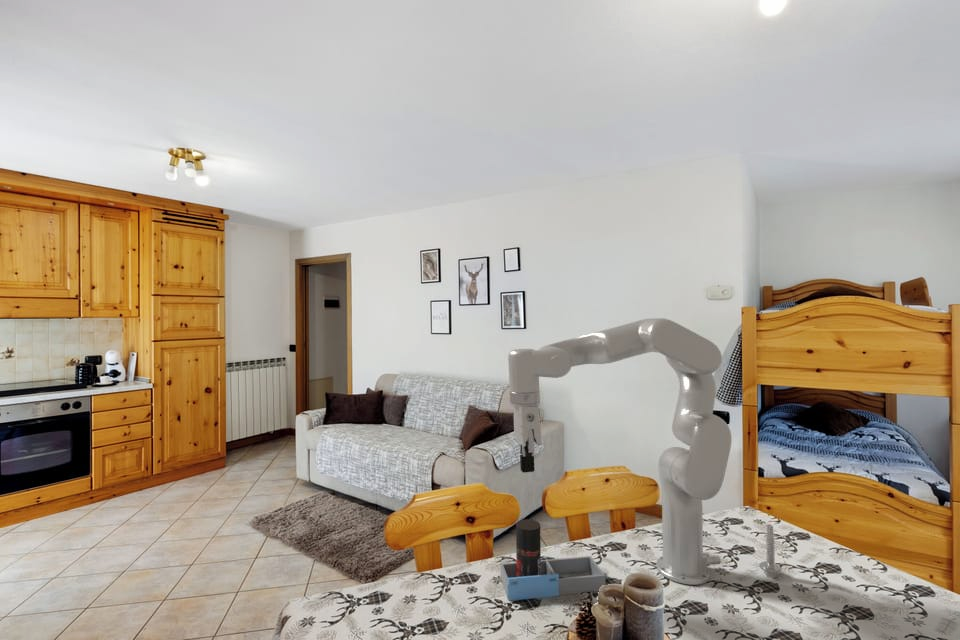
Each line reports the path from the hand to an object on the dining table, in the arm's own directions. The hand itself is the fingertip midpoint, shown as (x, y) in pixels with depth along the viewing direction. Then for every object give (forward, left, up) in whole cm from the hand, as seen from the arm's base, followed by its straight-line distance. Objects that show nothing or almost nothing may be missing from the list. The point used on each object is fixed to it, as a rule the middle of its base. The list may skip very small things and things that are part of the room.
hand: (527, 470), depth 113 cm
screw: (-61, +7, -28) cm, 68 cm away
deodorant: (0, +2, -28) cm, 28 cm away
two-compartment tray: (-5, +2, -27) cm, 28 cm away
